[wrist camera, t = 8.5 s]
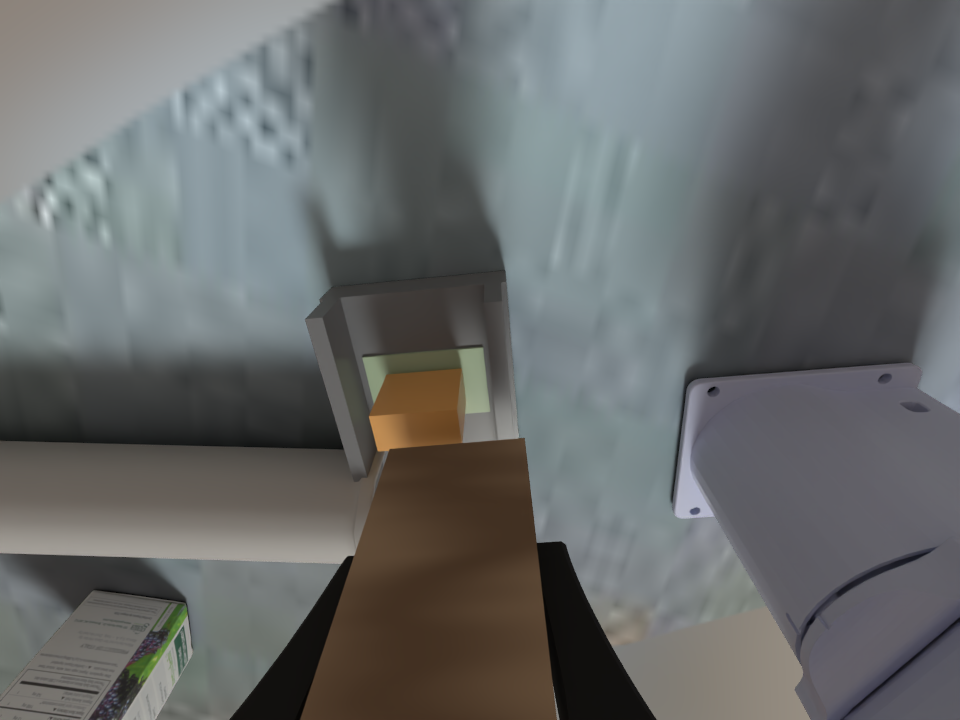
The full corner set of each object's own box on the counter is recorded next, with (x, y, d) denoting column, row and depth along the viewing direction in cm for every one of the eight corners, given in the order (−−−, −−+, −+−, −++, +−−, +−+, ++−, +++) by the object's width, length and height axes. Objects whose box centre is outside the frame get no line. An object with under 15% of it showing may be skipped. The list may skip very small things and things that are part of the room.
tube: (-156, 573, 21) (384, 591, 20) (-304, 525, 17) (360, 545, 16) (-58, 470, 24) (401, 482, 24) (-160, 410, 20) (386, 423, 20)
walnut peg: (524, 438, 13) (566, 804, 6) (533, 537, 15) (573, 914, 8) (389, 449, 13) (269, 810, 6) (413, 545, 15) (342, 917, 8)
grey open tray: (331, 287, 18) (299, 319, 15) (505, 270, 18) (508, 300, 15) (389, 506, 24) (374, 564, 20) (523, 498, 23) (528, 555, 20)
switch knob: (386, 374, 18) (368, 416, 15) (461, 368, 18) (456, 409, 15) (393, 406, 18) (377, 451, 16) (466, 400, 18) (462, 445, 16)
